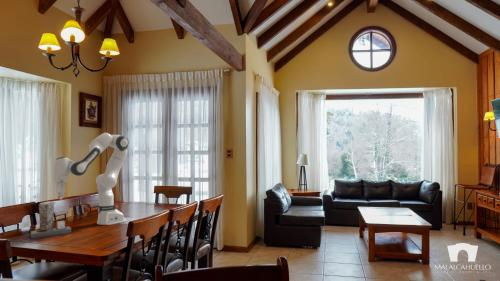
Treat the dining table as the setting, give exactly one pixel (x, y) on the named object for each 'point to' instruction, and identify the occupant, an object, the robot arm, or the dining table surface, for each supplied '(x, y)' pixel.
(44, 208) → the stone block
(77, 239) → the dining table surface
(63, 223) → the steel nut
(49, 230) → the grey flat slab
